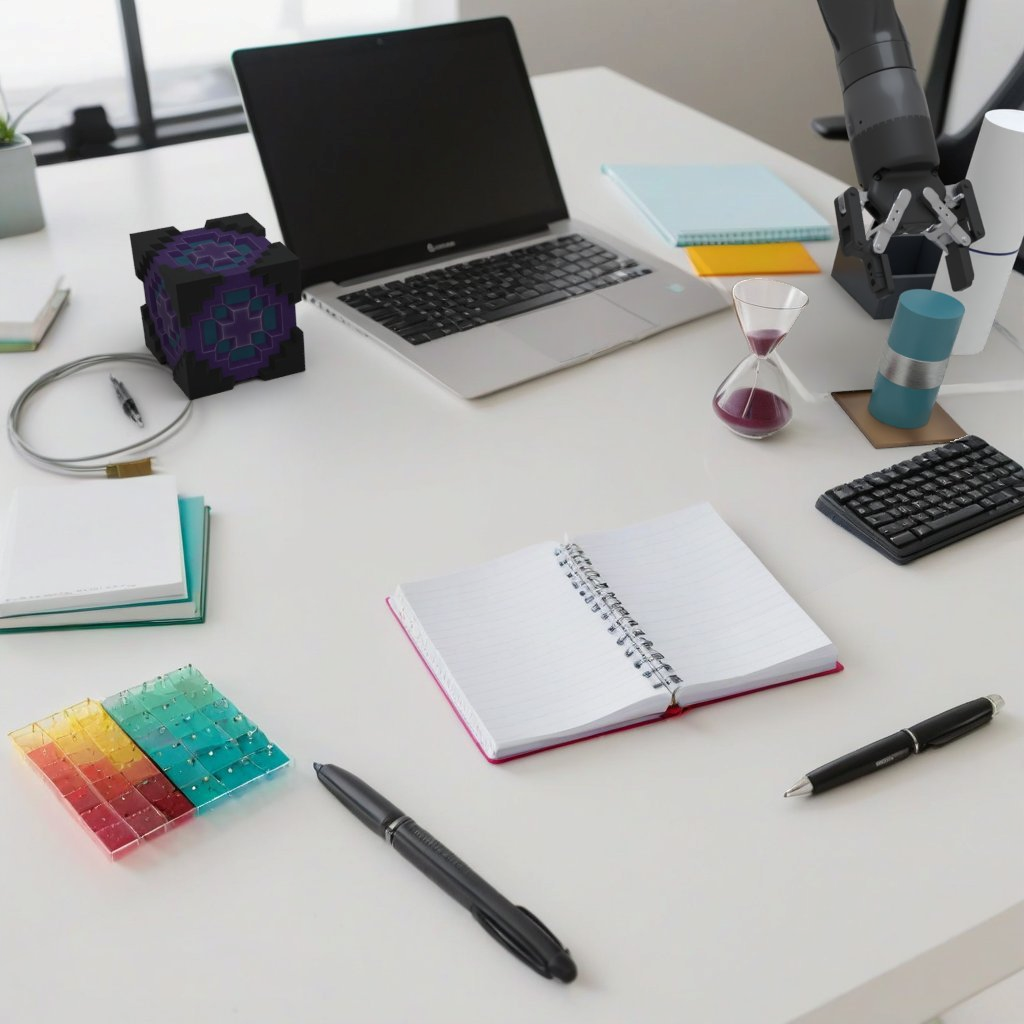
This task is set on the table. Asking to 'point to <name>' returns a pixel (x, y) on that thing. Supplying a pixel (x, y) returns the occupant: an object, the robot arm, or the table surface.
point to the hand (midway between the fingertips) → (925, 292)
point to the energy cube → (219, 303)
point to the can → (915, 358)
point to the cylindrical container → (991, 226)
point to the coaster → (889, 436)
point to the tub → (909, 267)
